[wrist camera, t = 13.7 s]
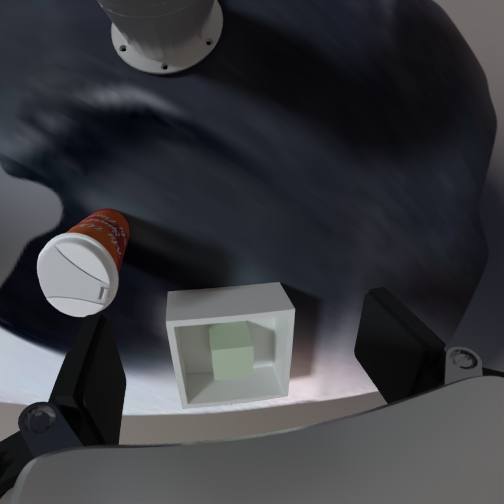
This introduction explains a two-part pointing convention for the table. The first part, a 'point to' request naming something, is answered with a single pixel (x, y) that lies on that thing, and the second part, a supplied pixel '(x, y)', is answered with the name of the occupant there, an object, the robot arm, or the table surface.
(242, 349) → the green block
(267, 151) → the table surface
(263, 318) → the bin
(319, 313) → the table surface
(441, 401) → the robot arm
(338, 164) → the table surface
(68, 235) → the paper cup
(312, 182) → the table surface
